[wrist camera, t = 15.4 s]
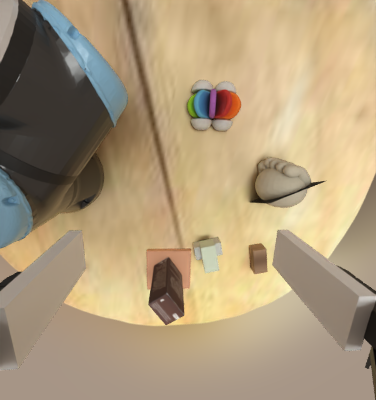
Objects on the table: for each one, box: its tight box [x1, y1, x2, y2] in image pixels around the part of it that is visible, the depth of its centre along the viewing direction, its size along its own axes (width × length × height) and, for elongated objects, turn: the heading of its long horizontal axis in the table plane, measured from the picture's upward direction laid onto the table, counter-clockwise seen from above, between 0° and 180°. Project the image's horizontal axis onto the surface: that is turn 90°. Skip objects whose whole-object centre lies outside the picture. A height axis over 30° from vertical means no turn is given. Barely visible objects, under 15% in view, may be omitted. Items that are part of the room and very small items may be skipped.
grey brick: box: [193, 237, 222, 260], centre depth 48 cm, size 6×3×3 cm, turn 101°
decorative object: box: [252, 157, 325, 208], centre depth 41 cm, size 13×10×10 cm
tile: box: [147, 249, 191, 289], centre depth 50 cm, size 10×10×1 cm
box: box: [148, 257, 184, 325], centre depth 44 cm, size 6×4×12 cm
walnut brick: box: [249, 244, 267, 274], centre depth 50 cm, size 6×3×3 cm, turn 8°
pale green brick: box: [199, 239, 219, 273], centre depth 46 cm, size 6×3×3 cm, turn 10°
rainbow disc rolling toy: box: [187, 80, 241, 131], centre depth 39 cm, size 8×10×7 cm
